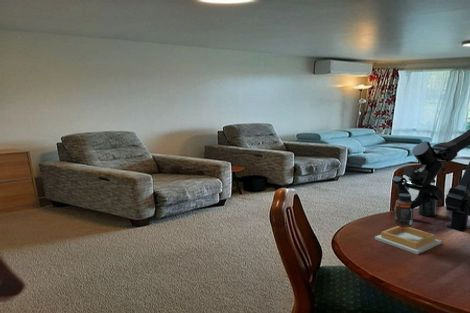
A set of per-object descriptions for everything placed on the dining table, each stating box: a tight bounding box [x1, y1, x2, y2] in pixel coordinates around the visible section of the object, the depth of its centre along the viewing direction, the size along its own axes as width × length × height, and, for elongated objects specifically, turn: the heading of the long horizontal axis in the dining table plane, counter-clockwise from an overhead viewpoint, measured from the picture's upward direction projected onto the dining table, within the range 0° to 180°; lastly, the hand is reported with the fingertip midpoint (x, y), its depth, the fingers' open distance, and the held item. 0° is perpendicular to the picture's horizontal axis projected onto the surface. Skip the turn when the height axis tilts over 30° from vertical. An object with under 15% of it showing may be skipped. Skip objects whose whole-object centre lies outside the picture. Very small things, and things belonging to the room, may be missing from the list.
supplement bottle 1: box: [394, 193, 415, 228], centre depth 137 cm, size 6×6×11 cm
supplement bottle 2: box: [417, 199, 438, 217], centre depth 167 cm, size 7×7×12 cm
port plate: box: [374, 225, 442, 255], centre depth 137 cm, size 16×16×3 cm
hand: (403, 206), depth 137 cm, fingers closed on supplement bottle 1, 6 cm apart
